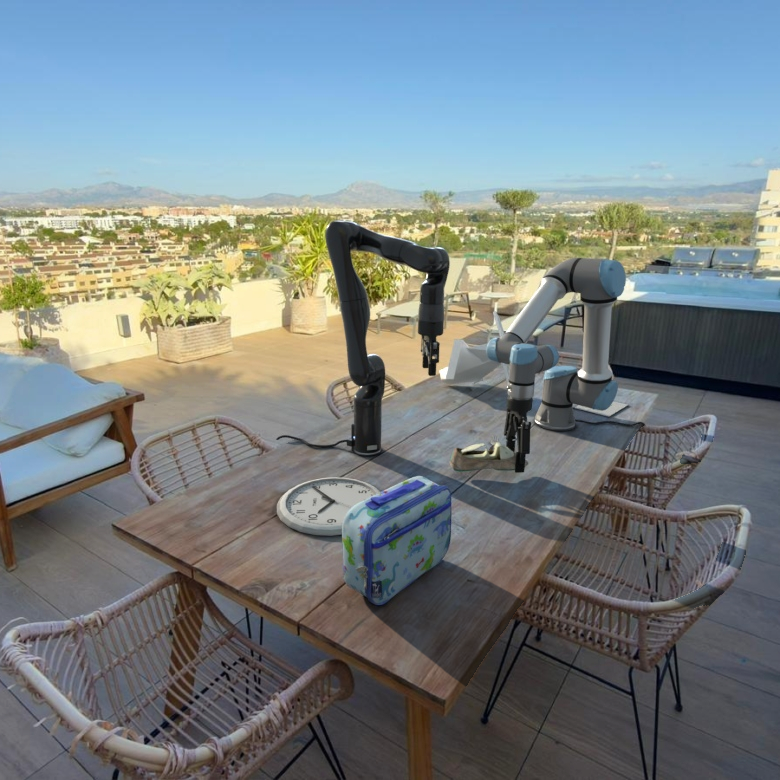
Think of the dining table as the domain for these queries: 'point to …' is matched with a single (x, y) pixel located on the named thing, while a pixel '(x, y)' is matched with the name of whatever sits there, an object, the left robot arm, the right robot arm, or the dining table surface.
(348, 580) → the lunch box
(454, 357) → the white plastic object
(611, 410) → the invitation card
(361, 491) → the wall clock
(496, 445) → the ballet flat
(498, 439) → the fork
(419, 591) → the dining table surface
